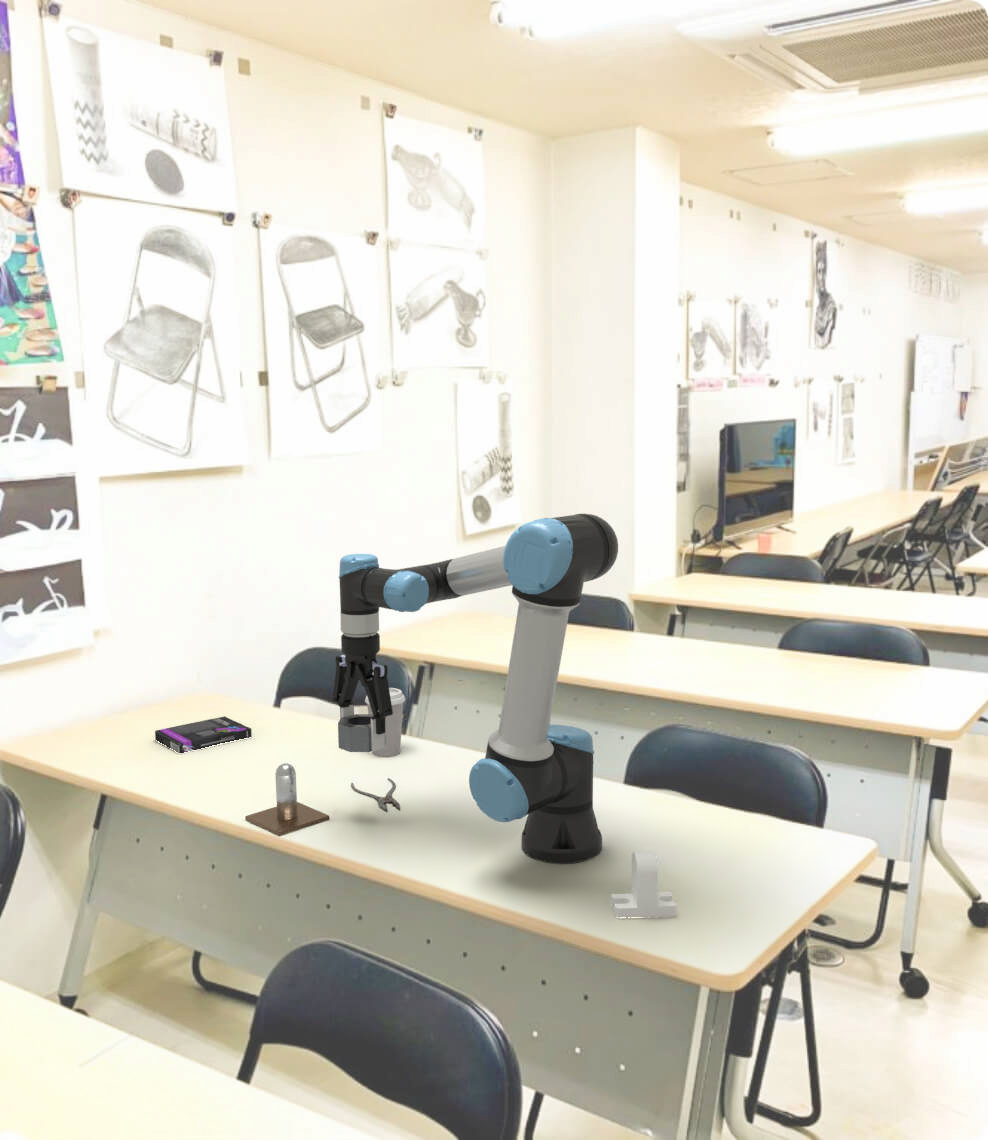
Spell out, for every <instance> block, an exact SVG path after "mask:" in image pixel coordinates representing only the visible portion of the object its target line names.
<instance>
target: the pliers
mask: <svg viewBox="0 0 988 1140" xmlns="http://www.w3.org/2000/svg"><path fill="white" fill-rule="evenodd" d="M387 781H388V782H389V783H391V785H392V786H391V788H390V790H388V792H387V793H386V794H385V796H379V795H375V794H373V793H369V792H365V791H362V790H359V789H357V788H356V787H355V784H354V783H353V782H351V783H350V788H351V789H352V790H353V791H354V792H356V793H358V794H360V795H363V796H365V797H368V798H371V799H374V800H375V801H376V802H377V804H378V808H379V809H380V810H381V811H384V812H385V813H388V810H389V809H388V807H387V804H388V805H391V807H395V809H396V810H398V811H399V812H400V811H401V804H400V803H399V802H398V801H397V800H396V799H395V797H393V796H392V795H393V793H394V792H395V790H396V787H397V785H396V782H395V781H394V780H393V779H392V778H389V777H387Z"/></svg>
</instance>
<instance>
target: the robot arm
mask: <svg viewBox="0 0 988 1140" xmlns="http://www.w3.org/2000/svg"><path fill="white" fill-rule="evenodd" d="M618 553H619V542H618V537H617V535H616V532H615V530H614V529H613V527H612V526H611V525H610V523H609V522H607V520H605V519H603V518H602V517H600V516H598V515H595V514H592V513H591V514H589V513H577V514H569V515H564V516H557V517H542V518H538V519H535V520H532V521H530V522H526V523H524V524H522V525H520V526H519V527H517V528H516V529H515V530H514V531H513V533H511V534H510V536H509V538H508V540H507V542H506V544H505V545H503V546H500V547H499V546H498V547H495V548H491V549H487V550H484V551H479V552H475V553H471V554H467V555H463V556H458V557H455V558H451V559H446V560H443V561H439V562H434V563H427V564H423V565H416V566H410V567H403V568H399V569H398V568H397V569H391V568H382V567H380V564H379V559H378V557H377V555H374V554H371V553H353V554H345V555H344V556H342V557H341V558H340V560H339V575H338V579H339V599H340V601H339V605H340V612H339V613H340V632H341V633H342V635H341V636H340V637H341V638H340V643H341V646H340V648H341V652H342V654H341V655H338V656H335V675H334V676H335V677H334V684H333V693H332V701H333V702H334V703H337V705H338V707H339V709H340V710H339V712H340V714H339V715H340V716H339V718H340V719H341V718H343V717H347V716H351V715H355V706H354V704H355V702H354V701H353V699H354V696H355V693H356V690H357V687H358V683H359V681H360V684H361V686H362V687H364V690H365V694H366V696H367V697H368V700H369V703H370V706H371V710H372V713H373V717H371V747H372V751H371V752H373V751H376V750H379V749H383V748H385V740H384V733H385V718H386V716H390V715H392V714H393V710H392V704H391V698H390V692H389V688H390V687H389V680H388V670H389V669H388V666H387V664H383V665H381V664H378V660H377V657H376V656H377V654H378V653H379V652H380V650H381V640H380V638H381V637H380V633H378V632H379V631H380V614H379V613H380V608H382V609H388V610H392V611H395V612H400V613H404V612H408V613H414V612H418V611H420V610H421V609H422V607H424V606H425V605H427V604H431V603H435V602H442V601H445V600H446V601H447V600H452V599H458V598H460V597H464V596H468V595H473V594H477V593H481V592H482V593H483V592H487V591H492V590H496V589H501V588H506V587H510V586H512V587H511V588H512V589H511V594H512V596H513V597H514V598H515V599H516V600H517V602H518V606H517V607H518V608H517V612H516V613H517V614H516V619H515V625H514V632H513V639H512V644H511V649H510V650H511V651H510V656H509V663H508V668H507V669H508V671H507V677H506V682H505V688H504V695H503V700H502V701H503V702H502V705H501V706H502V707H501V714H500V718H499V719H500V720H499V726H498V729H497V730H495V731H493V732H492V733H491V734H490V735H489V736H488V739H487V740H488V741H487V745H486V751H485V757H484V758H480V759H479V760H478V761H476V763H475V764H474V765H472V767H471V769H470V771H469V776H468V784H469V789H470V793H471V796H472V799H473V800H474V801H475V802H476V806H477V807H478V809H480V811H482V814H485V816H487V817H488V818H490V819H492V820H493V821H496V822H499V823H510V822H512V821H516V820H521V819H523V818H525V817H526V816H527V817H526V820H525V824H524V828H523V830H522V832H521V839H520V840H521V843H520V844H521V850H522V851H523V853H524V854H525V855H526V856H527V857H528V856H529V857H530V858H533V859H535V860H538V861H541V862H547V863H555V864H556V863H557V864H571V863H580V862H584V861H588V860H590V859H593V858H595V857H596V856H598V855H600V853H601V852H602V850H603V836H602V832H601V830H600V829H599V825H598V821H597V817H596V814H595V811H594V754H595V750H594V745H593V743H594V741H593V740H594V739H593V736H592V735H591V734H590V733H589V732H588V731H587V730H586V729H582V728H579V727H575V726H570V725H563V724H550V723H551V718H552V712H553V707H554V702H555V701H554V700H555V695H556V690H557V685H558V678H559V672H560V667H561V660H562V655H563V651H564V650H563V649H564V645H565V644H564V643H565V638H566V631H567V627H568V621H569V615H570V612H571V611H572V610H574V609H576V608H577V607H578V606H580V604H581V600H582V599H581V598H582V594H583V588H584V583H586V582H590V581H594V580H597V579H599V578H601V577H603V576H604V575H606V574H607V573H608V572H609V571H610V570H611V569H612V568H613V566H614V565H615V562H616V561H617V558H618ZM378 710H379V712H378ZM340 719H339V720H340Z"/></svg>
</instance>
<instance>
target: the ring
mask: <svg viewBox="0 0 988 1140" xmlns="http://www.w3.org/2000/svg"><path fill="white" fill-rule="evenodd" d="M371 717H373V714H368V713H365V714H364V713H362V714H361V713H358V714H357V713H354V715H351V716H347V717H343V718H341V719H339V721H338V723H337V735H338V736H337V738H338V740H337V741H338V749H341V750H343V751H346V752H348V753H372V752H373V751H372V747H371ZM384 740H385V744H386V718H385V733H384Z"/></svg>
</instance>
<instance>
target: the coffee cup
mask: <svg viewBox="0 0 988 1140" xmlns="http://www.w3.org/2000/svg"><path fill="white" fill-rule="evenodd" d="M389 692H390V698H391V704H392V710H393V714H392V715H390V716H386V744H385V748H383V749H379V750H376V751H372V754H373V756H374V757H379V758H390V757H395V756H398V755H400V754H401V744H402V743H401V742H402V727H403V714H404V713H403V711H404V703H405V702H406V696H405V695H404V694H403V691H402V690H401V689H399V688H394V687H389ZM364 703H366V704H367V705H366V706H367V714H373V713H372V710H371V706H370V703H369V700H368V697H367V695H366V696H365V698H364ZM378 712H379V710H378Z"/></svg>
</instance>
